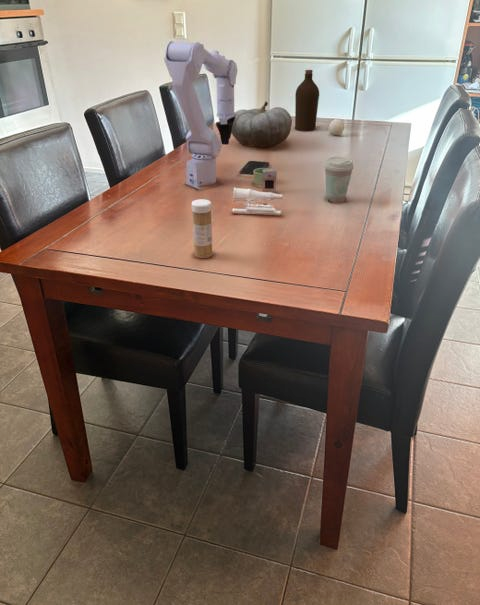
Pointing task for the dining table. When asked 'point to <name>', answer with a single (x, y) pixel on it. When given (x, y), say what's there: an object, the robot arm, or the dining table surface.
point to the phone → (253, 167)
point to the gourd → (261, 126)
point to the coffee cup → (337, 178)
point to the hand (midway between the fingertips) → (226, 141)
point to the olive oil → (306, 104)
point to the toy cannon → (257, 209)
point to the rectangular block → (269, 180)
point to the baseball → (336, 127)
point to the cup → (258, 176)
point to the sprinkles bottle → (202, 228)
